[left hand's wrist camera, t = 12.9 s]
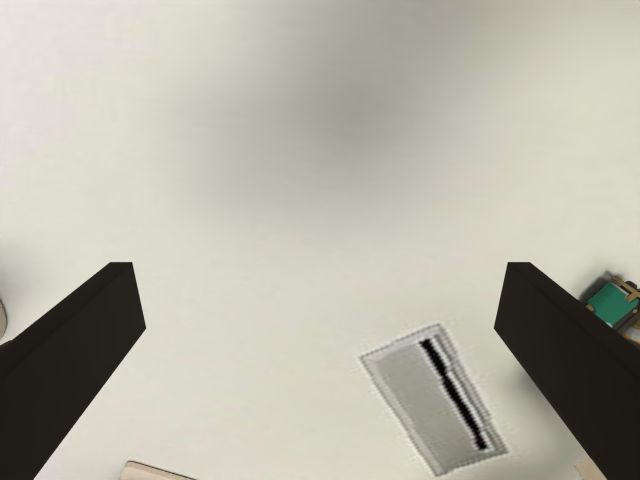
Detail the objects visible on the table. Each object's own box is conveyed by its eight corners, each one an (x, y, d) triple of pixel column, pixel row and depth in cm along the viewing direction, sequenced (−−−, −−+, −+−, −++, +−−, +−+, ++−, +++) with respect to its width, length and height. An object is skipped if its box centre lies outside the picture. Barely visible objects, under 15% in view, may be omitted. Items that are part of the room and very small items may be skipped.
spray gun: (553, 398, 53) (498, 330, 49) (673, 340, 48) (621, 260, 44) (569, 422, 49) (511, 351, 45) (702, 362, 44) (648, 277, 40)
